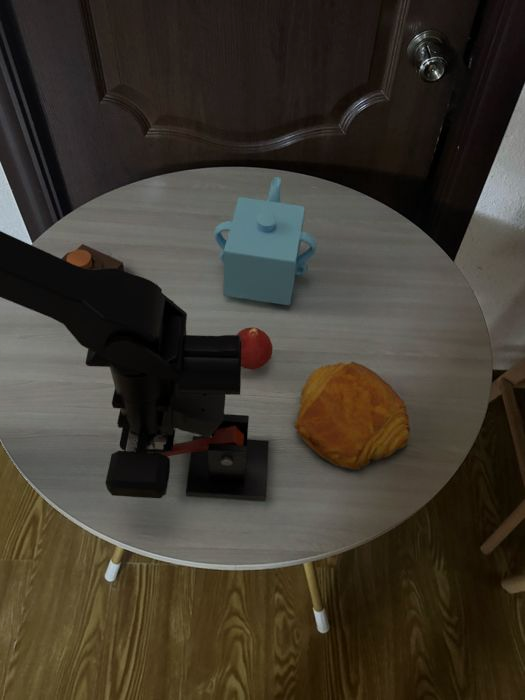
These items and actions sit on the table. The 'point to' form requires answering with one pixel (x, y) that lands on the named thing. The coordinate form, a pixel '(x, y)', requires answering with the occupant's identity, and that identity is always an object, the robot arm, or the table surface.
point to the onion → (255, 348)
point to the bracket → (230, 467)
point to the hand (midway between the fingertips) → (155, 450)
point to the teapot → (264, 248)
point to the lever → (209, 441)
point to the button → (80, 259)
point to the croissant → (351, 415)
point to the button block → (100, 259)
